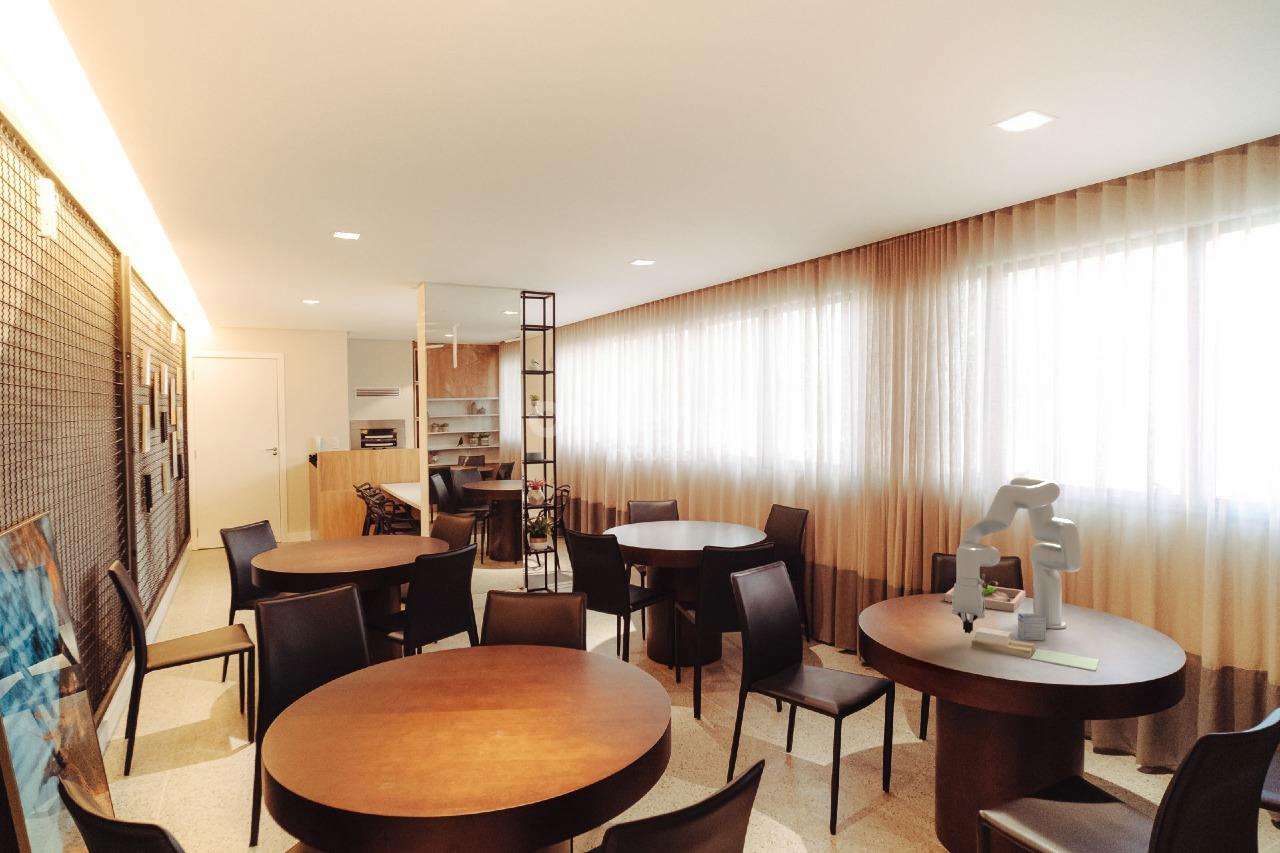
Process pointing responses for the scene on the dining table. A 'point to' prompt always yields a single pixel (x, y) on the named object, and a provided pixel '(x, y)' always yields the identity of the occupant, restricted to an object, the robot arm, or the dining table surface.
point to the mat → (1065, 659)
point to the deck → (1007, 647)
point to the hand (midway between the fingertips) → (968, 632)
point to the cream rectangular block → (993, 636)
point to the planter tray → (997, 604)
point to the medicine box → (1031, 626)
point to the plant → (993, 592)
